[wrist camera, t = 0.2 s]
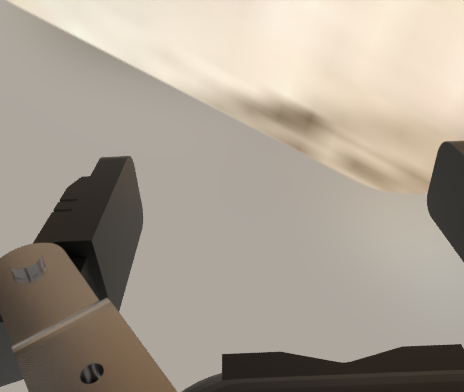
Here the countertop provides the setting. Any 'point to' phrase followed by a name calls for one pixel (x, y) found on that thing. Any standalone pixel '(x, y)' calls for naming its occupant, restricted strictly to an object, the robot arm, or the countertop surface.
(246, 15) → the countertop surface
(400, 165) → the countertop surface
